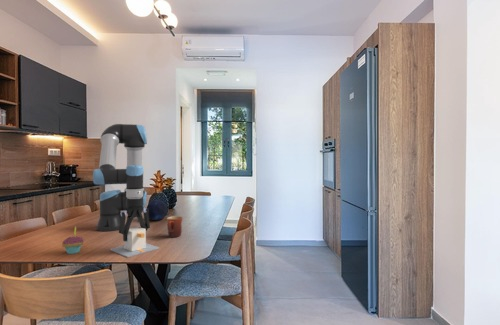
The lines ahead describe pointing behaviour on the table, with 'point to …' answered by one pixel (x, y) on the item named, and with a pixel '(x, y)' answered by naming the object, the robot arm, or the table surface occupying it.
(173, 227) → the mug
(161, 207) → the decorative orb
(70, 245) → the cupcake
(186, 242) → the table surface
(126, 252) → the post base
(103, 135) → the robot arm
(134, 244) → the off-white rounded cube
